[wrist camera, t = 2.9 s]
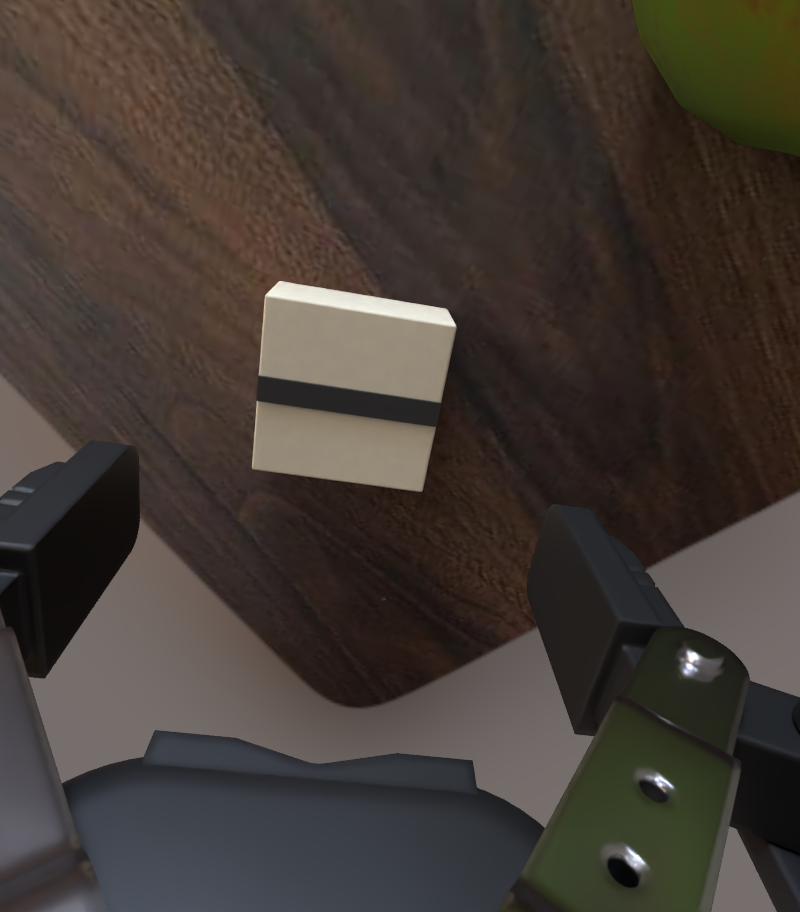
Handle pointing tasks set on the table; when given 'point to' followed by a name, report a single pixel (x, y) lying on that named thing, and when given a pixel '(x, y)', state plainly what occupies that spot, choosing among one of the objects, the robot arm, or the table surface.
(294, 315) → the ivory pad
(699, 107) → the apple
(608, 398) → the table surface
